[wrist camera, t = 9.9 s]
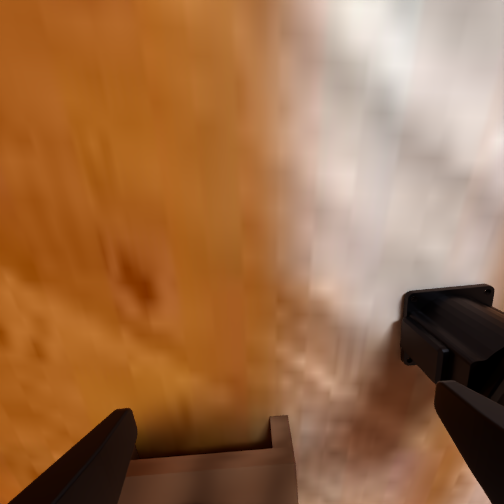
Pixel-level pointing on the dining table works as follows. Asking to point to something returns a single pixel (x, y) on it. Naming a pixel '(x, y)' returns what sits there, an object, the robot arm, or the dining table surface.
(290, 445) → the walnut shelf
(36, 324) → the dining table surface
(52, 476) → the robot arm
